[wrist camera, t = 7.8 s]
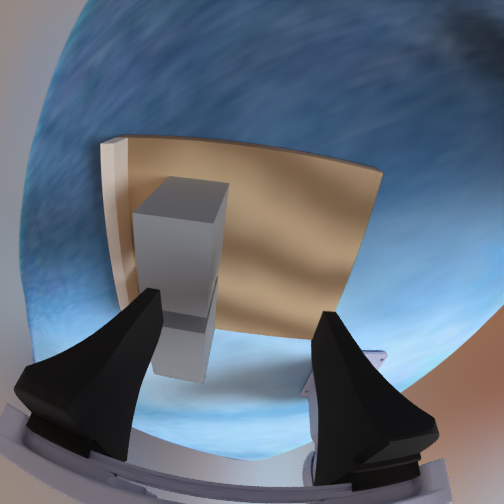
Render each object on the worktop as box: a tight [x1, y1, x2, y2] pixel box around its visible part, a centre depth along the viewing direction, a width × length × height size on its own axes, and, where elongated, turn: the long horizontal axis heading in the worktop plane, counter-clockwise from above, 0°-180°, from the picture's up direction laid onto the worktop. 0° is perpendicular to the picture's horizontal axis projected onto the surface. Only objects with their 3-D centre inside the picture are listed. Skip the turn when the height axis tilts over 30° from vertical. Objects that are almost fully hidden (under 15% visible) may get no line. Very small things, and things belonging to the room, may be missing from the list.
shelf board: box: [116, 135, 383, 340], centre depth 21 cm, size 16×18×1 cm
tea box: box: [132, 176, 229, 318], centre depth 17 cm, size 6×4×6 cm
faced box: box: [151, 276, 218, 384], centre depth 21 cm, size 6×4×6 cm
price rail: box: [100, 138, 138, 311], centre depth 20 cm, size 16×1×2 cm, turn 172°
